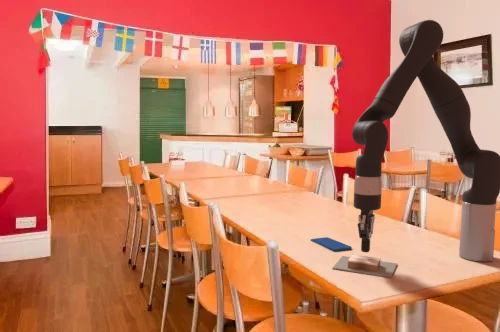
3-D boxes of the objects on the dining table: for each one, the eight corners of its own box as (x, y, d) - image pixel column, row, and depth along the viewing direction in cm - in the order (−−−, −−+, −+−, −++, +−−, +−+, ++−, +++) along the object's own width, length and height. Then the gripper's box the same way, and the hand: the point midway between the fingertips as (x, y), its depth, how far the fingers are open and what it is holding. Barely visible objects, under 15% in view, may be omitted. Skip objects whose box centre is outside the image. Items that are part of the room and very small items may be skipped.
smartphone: (327, 237, 160) (353, 247, 146) (327, 239, 160) (352, 250, 146) (309, 239, 157) (333, 249, 143) (309, 241, 157) (333, 252, 143)
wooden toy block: (380, 258, 129) (377, 264, 123) (380, 265, 129) (376, 272, 123) (352, 254, 132) (347, 260, 127) (352, 261, 132) (347, 267, 127)
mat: (396, 264, 131) (397, 263, 131) (391, 277, 120) (391, 276, 120) (342, 257, 138) (342, 255, 138) (332, 269, 127) (332, 267, 127)
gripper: (377, 196, 119) (374, 259, 121) (384, 189, 131) (382, 247, 133) (349, 194, 122) (347, 256, 124) (359, 187, 134) (357, 244, 136)
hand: (365, 251), depth 129 cm, fingers closed
